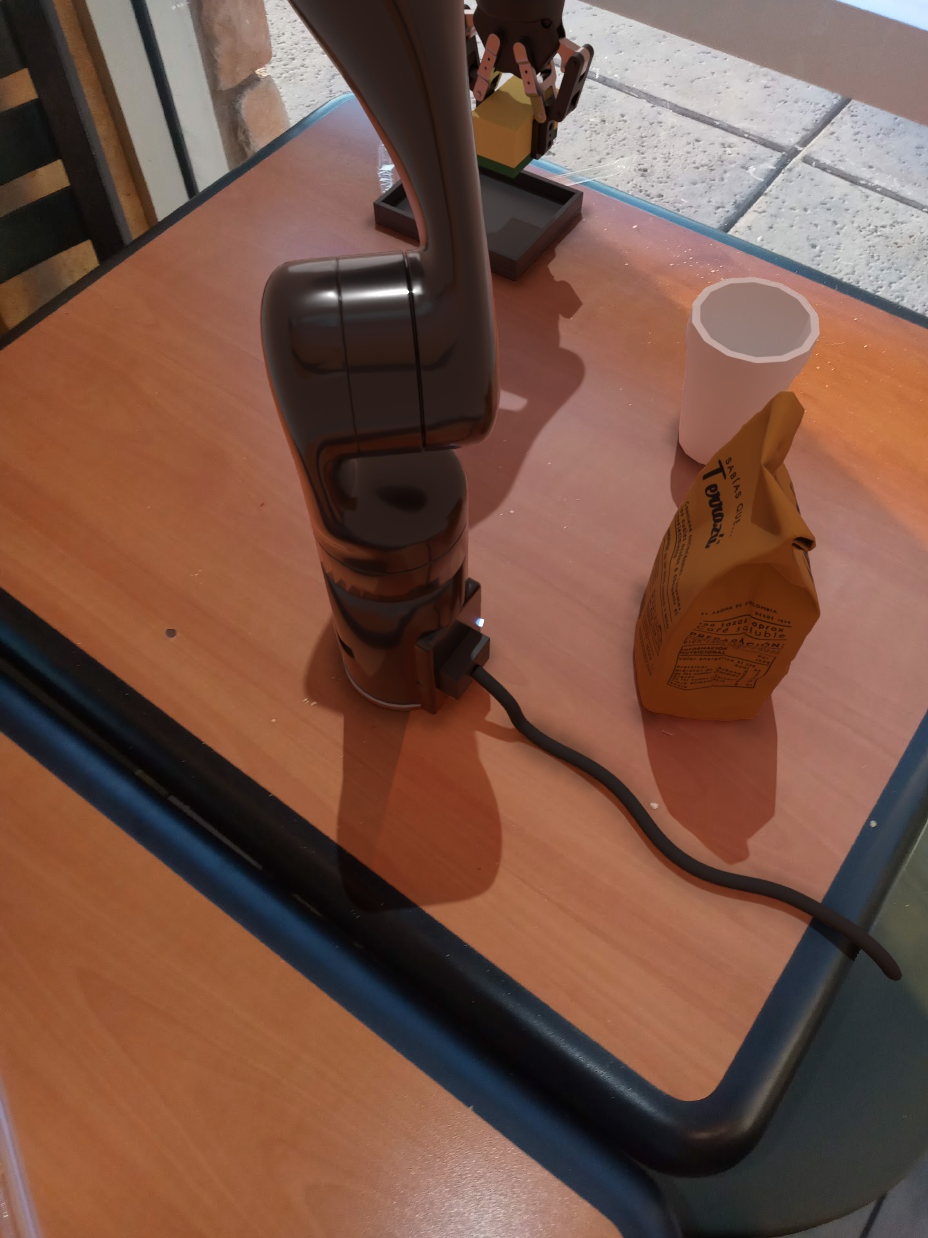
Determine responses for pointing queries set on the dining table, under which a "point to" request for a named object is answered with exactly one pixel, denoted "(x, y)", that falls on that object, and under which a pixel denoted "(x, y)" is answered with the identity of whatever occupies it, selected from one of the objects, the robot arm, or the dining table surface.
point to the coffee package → (730, 580)
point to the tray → (501, 216)
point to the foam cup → (740, 357)
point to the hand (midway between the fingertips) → (513, 144)
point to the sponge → (505, 129)
